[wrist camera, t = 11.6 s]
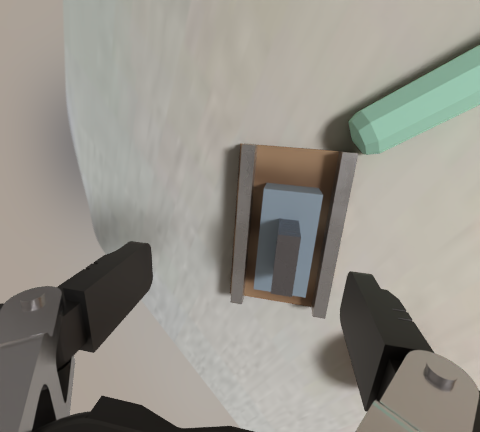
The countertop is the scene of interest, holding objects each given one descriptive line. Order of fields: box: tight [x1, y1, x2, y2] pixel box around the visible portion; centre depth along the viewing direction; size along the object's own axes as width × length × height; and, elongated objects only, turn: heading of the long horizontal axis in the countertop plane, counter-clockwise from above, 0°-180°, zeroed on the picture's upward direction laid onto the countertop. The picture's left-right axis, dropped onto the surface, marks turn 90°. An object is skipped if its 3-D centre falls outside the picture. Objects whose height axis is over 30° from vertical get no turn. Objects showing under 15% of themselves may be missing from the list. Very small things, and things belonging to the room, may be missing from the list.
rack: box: [230, 144, 358, 319], centre depth 31 cm, size 20×13×3 cm, turn 177°
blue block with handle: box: [254, 183, 323, 298], centre depth 28 cm, size 12×6×9 cm, turn 176°
